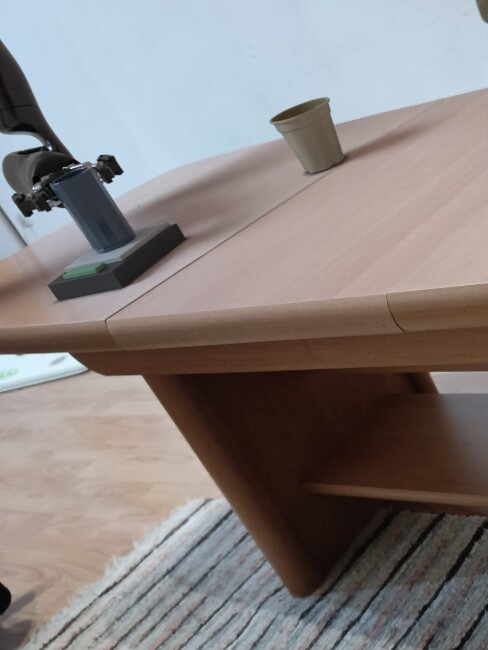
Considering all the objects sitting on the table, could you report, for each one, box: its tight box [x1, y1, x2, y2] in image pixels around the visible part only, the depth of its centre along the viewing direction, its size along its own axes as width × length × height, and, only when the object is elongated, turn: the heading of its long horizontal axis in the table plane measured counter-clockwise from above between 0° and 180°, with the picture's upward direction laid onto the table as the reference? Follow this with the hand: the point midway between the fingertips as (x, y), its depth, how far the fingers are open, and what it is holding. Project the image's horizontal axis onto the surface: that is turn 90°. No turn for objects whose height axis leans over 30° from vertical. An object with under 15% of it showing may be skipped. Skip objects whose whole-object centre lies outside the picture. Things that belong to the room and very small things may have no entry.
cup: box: [50, 166, 136, 254], centre depth 116 cm, size 6×6×10 cm
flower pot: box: [268, 96, 345, 174], centre depth 131 cm, size 9×9×9 cm
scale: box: [46, 221, 187, 301], centre depth 119 cm, size 12×14×3 cm
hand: (76, 189), depth 116 cm, fingers open, 8 cm apart
